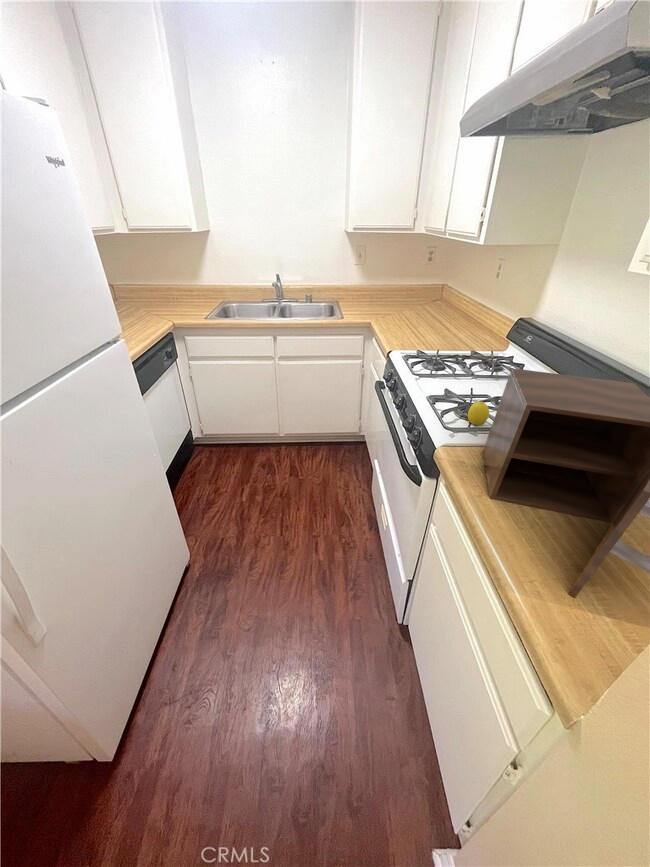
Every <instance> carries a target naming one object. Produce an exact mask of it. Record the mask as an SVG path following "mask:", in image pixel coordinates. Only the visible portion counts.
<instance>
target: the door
mask: <svg viewBox="0 0 650 867" xmlns="http://www.w3.org/2000/svg"><path fill="white" fill-rule="evenodd" d="M638 515H642V516H644V517H645V518H648V519H650V470H649V472H648V473H647V475H646V476H645V478H644V479H643V480H642V482H641V483H640V485H639V486H638V488H637V489H636V490H635V492H634V493H633V495H632V496H631V497H630V499H629V500H628V502H627V503H626V505H625V506H624V507H623V509H622V510H621V512H620V513H619V515H618V516H617V517H616V519H615V520H614V522H613V523H610V524H611V525H610V526H609V528H608V529H607V531H606V532H605V534H604V536H603V537H602V538H601V541H600V542H599V544H598V545H597V547H596V549H595V550H594V552H593V553H592V555H591V557H589V559H588V562H587V563H586V565H585V566H584V568H583V570H582V571H581V573H580V575H579V576H578V577H577V580H576V581H575V582H574V584H573V586H572V588H571V589H570V591H569V592H568V595H569V596H570V597H572V598H573V599H576V598H577V596H578V595H579V594H580V593H581V591H582V590H583V588H584V587H585V586H586V584H587V583H588V582H589V580H591V577H592V576H593V575H594V574H595V572H596V571H597V570H598V569H599V567H600V566H601V565H602V563H603V562H604V560H605V559H606V558H607V556H608V555H609V554H610V553H611V554H613V555H615V556H617V557H618V558H620V559H622V560H624V561H625V562H628V563H629V564H631V565H632V566H635V567H636V568H638V569H640V570H642V571H643V572H645V573H647V574H649V575H650V555H648V554H646V553H644V552H642V551H640V550H638V549H636V548H634V547H632V546H631V545H629V544H627V543H625V542H623V541H621V540H620V539H621V538H622V536H623V535H624V533H625V532H626V531H627V530H628V528H629V527H630V525H631V524H632V523H633V522H634V520H635V519H636V518H637V516H638Z"/></svg>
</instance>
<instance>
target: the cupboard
mask: <svg viewBox="0 0 650 867" xmlns="http://www.w3.org/2000/svg"><path fill="white" fill-rule="evenodd" d="M510 369H511V370H510V372H509V375H508V377H507V380H506V384H505V387H504V389H503V392H502V396H501V398H500V401H499V404H498V407H497V410H496V412H495V416H494V417H493V422H492V424H491V426H490V429H489V433H488V436H487V438H486V442H485V445H484V448H483V453H484V458H485V464H484V465H483V466H484V471H485V477H486V484H487V491H488V496H489V499H490V500H493V501H499V502H504V503H508V504H509V503H510V504H513V505H514V504H515V505H519V506H524V507H529V508H533V509H538V510H543V511H549V512H553V513H558V514H563V515H568V516H572V517H573V516H574V517H577V518H578V517H579V518H583V519H589V520H593V521H599V522H602V523H603V522H604V523H609V524H612V523H613V522H614V520H615V519H616V517H617V516H618V515H619V513H620V512H621V510H622V509H623V507H624V506H625V505H626V503H627V502H628V500H629V499H630V497H631V496H632V495H633V493H634V492H635V490H636V489H637V488H638V486H639V485H640V483H641V482H642V480H643V479H644V478H645V476H646V475H647V473H648V472H649V470H650V396H648V395H647V394H646V393H645V392H644V391H643V390H642V389H641V388H640V387H639V386H637V385H636V384H635V383H634V382H628V381H620V380H612V379H602V378H594V377H587V376H580V375H579V376H578V375H571V374H563V373H553V372H546V371H545V372H544V371H538V370H529V369H521V368H510ZM512 459H515V460H516V459H517V460H521V461H528V462H532V463H533V462H534V463H539V464H545V465H551V466H557V467H562V468H568V469H572V470H573V469H574V470H579V471H584V473H585V474H586V476H587V478H588V480H589V482H590V483H588V482H582V481H576V480H571V479H566V478H565V479H564V478H559V477H554V476H549V475H543V474H538V473H532V472H525V471H521V470H516V469H515V470H514V469H510V468H508V467H509V464H510V462H511V460H512Z"/></svg>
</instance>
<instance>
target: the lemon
mask: <svg viewBox="0 0 650 867" xmlns="http://www.w3.org/2000/svg"><path fill="white" fill-rule="evenodd" d="M489 415H490V409H489V405H487V404H486V403H485V402H483V401H476V402H475V403H472V405H470V407H469V409H468V412H467V419H468V421H469V423H470V424H471V425H475V426H481V425H483V424H486V422H487V421H488V418H489Z"/></svg>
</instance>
